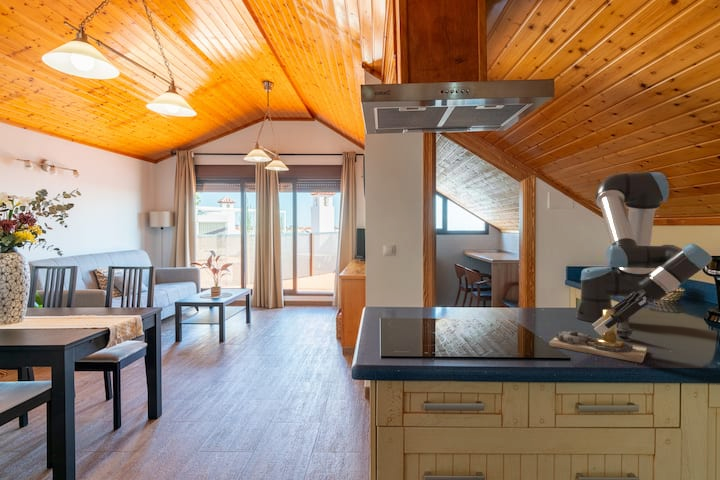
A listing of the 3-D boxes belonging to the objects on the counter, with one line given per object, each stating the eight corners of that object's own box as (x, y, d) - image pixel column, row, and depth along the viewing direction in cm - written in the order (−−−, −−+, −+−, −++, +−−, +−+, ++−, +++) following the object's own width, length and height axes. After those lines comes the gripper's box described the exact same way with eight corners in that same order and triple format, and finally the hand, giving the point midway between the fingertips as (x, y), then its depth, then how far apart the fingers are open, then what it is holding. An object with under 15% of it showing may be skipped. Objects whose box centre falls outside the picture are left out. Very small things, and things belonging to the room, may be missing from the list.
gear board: (560, 337, 145) (560, 325, 145) (646, 351, 128) (646, 338, 128) (549, 346, 135) (549, 333, 135) (641, 362, 118) (642, 348, 118)
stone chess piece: (636, 341, 140) (636, 308, 139) (618, 340, 141) (618, 307, 141) (628, 337, 146) (629, 305, 145) (611, 336, 147) (611, 304, 146)
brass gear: (596, 341, 135) (597, 306, 135) (626, 345, 130) (627, 309, 129) (591, 346, 129) (592, 310, 128) (622, 352, 123) (623, 314, 123)
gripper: (676, 298, 113) (609, 346, 121) (660, 289, 130) (602, 332, 138) (654, 278, 116) (589, 327, 123) (641, 272, 132) (585, 315, 140)
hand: (596, 330), depth 131 cm, fingers open, 6 cm apart
